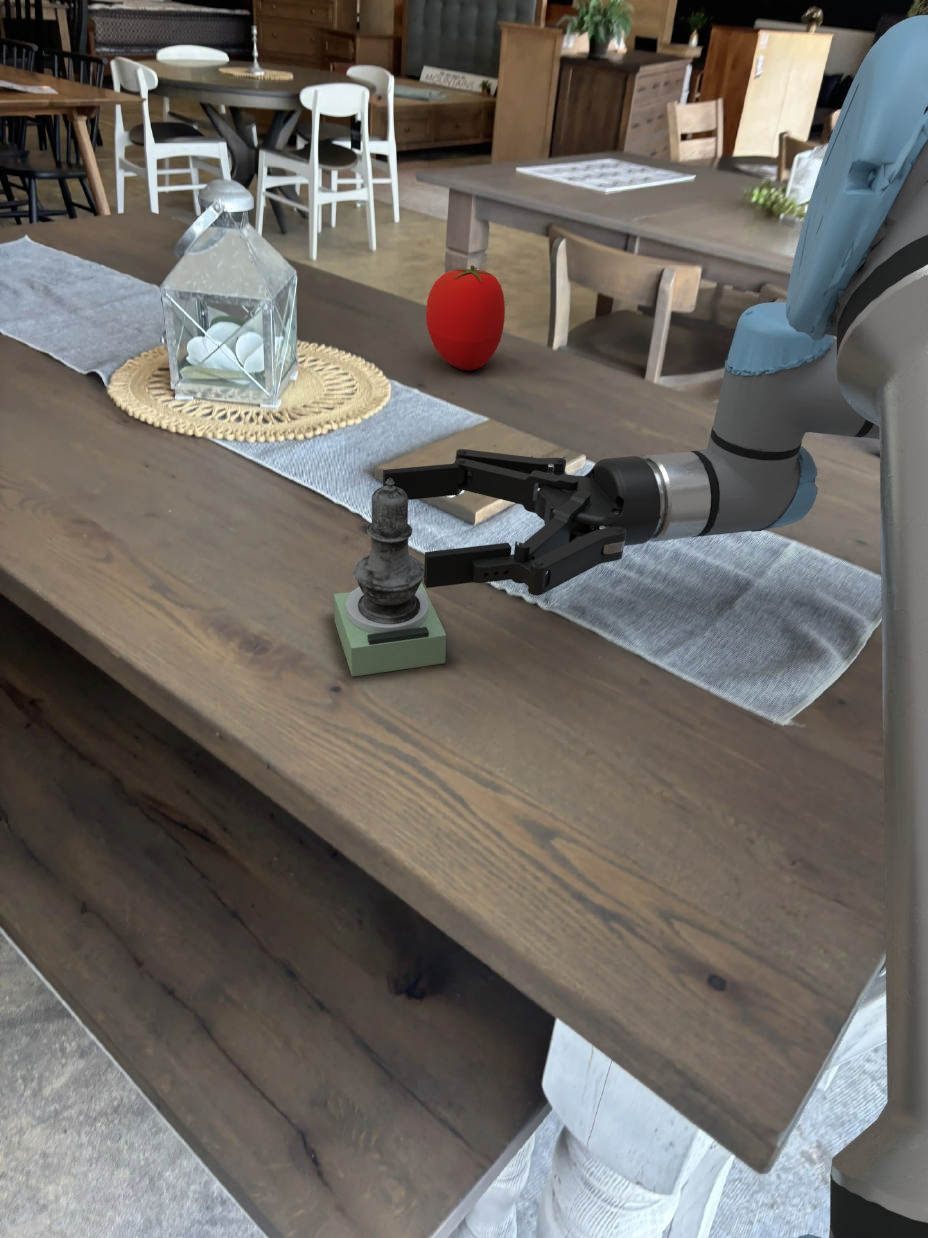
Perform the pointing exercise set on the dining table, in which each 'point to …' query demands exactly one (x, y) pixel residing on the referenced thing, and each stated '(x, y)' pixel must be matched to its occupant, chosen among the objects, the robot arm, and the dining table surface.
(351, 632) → the scale
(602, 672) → the dining table surface
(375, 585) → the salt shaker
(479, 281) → the tomato
